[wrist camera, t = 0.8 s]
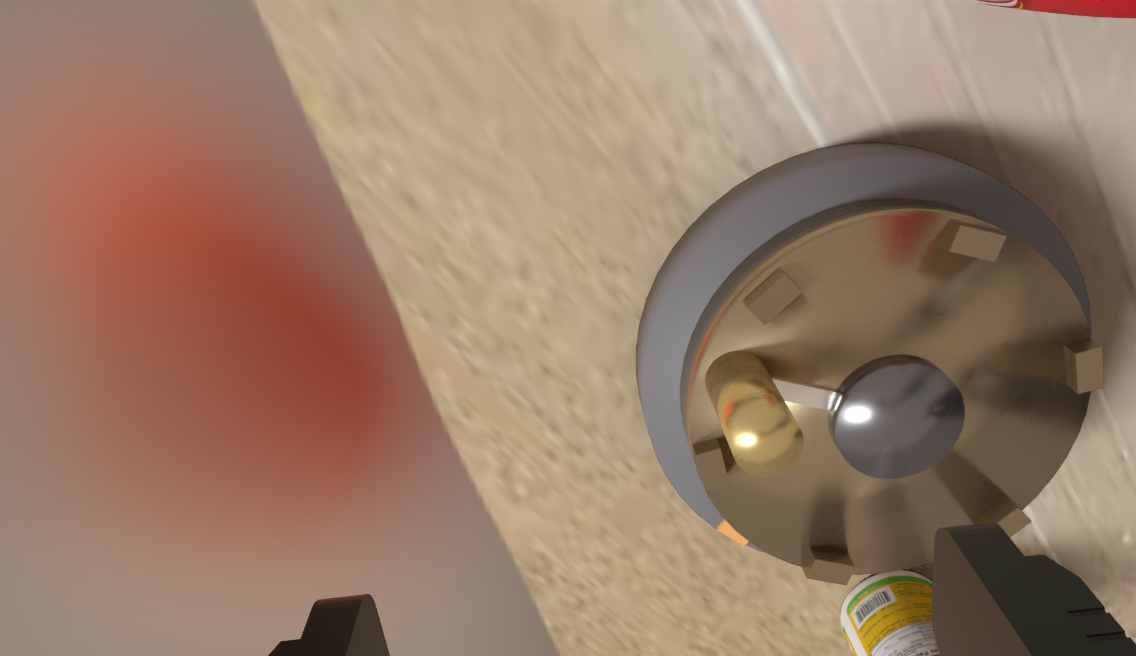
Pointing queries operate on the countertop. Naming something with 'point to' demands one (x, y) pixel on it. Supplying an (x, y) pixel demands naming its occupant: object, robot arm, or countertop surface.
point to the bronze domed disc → (884, 385)
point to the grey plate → (772, 209)
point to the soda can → (1072, 7)
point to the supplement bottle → (890, 616)
